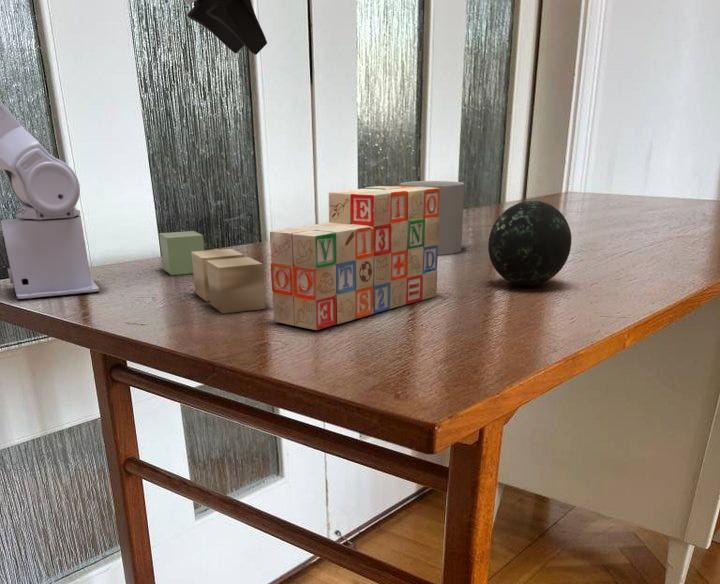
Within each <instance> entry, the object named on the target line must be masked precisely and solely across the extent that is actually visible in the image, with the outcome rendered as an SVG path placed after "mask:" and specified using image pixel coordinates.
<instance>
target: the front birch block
mask: <svg viewBox="0 0 720 584" xmlns="http://www.w3.org/2000/svg"><path fill="white" fill-rule="evenodd" d="M206 262H207V273H208V283H209V293H210V301H209V303H210V306H212V307H213V308H214V309H215V310H217V311H218V312H219V313H220V314H223V315H224V314H225V315H226V314H232V313H242V312H251V311H258V310H266V295H265V294H266V293H265V282H264V281H265V280H264V279H265V278H264V265H263V263H262V262H260V261H258V260H256V259H254V258H252V257H250V256H244V257H242V258H230V259H219V260H207V261H206Z"/></svg>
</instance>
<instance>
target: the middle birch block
mask: <svg viewBox="0 0 720 584" xmlns="http://www.w3.org/2000/svg"><path fill="white" fill-rule="evenodd" d="M191 255H192V264H193V273H192V274H193V283H194V291H195V295H197V296H198V297H199V298H201V299H202V300H204V301H205V302H210V293H209V283H208V273H207V262H206V261H207V260H219V259H230V258H242V257H245V256H244V254H243V253H242V252H239V251H237V250H235V249H233V248H222V249H210V250H205V251H195V252H191Z"/></svg>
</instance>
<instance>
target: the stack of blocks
mask: <svg viewBox="0 0 720 584" xmlns="http://www.w3.org/2000/svg"><path fill="white" fill-rule="evenodd" d="M439 201H440V188H433V187H409V186H400V185H393V186H392V185H391V186H390V185H389V186H388V185H375V186H367V187H364V188H356V189H347V190H338V191H337V190H336V191H329V192H328V222H323V223H315V224H308V225H300V226H294V227H288V228H281V229H275V230H274V229H273V230H270V231H269V246H270V261H271V262H270V281H271V291H272V295H271V296H272V309H273V321H274V322H275V323H279V324H285V325H289V326H294V327H299V328H304V329H309V330H313V331H318V330H322V329H325V328H328V327H332V326H334V325H341V324H344V323H347V322H350V321H354V320H358V319H361V318H365V317H368V316H372V315H375V314H377V313H382V312H385V311H388V310H391V309H395V308H398V307H402V306H405V305H409V304H410V305H411V304H414V303H417V302H421V301H424V300H427V299H431V298H435V297H437V296H438V295H437V293H438V259H439V258H438V256H439V255H438V242H439Z"/></svg>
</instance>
